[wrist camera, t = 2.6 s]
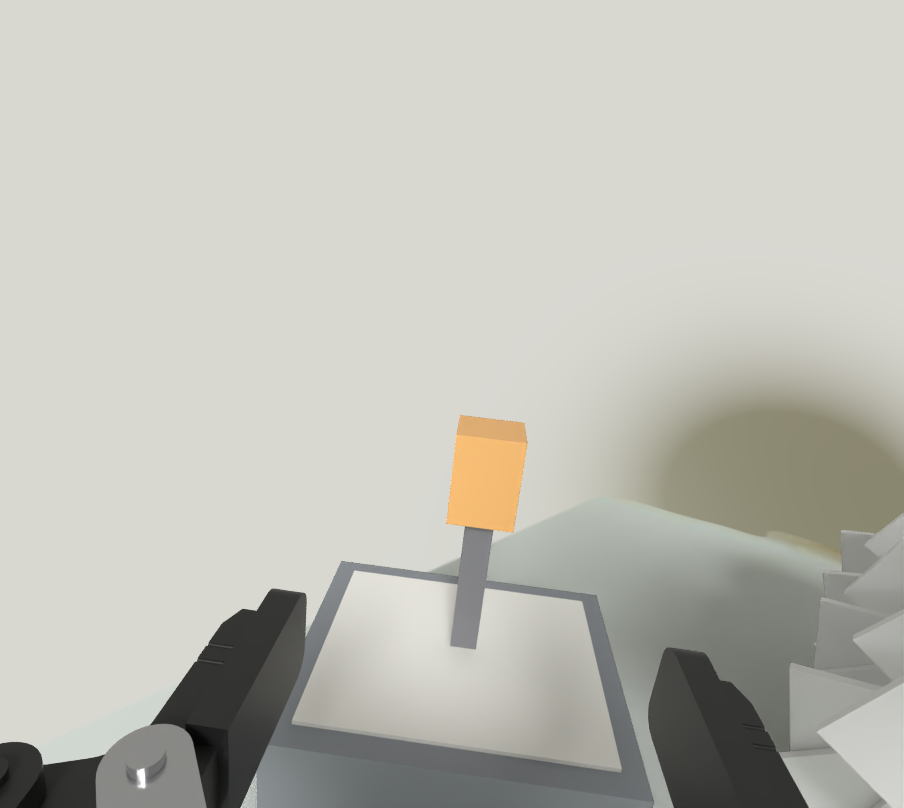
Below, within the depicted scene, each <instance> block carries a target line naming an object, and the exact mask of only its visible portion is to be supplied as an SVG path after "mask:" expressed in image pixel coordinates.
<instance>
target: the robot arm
mask: <svg viewBox="0 0 904 808" xmlns="http://www.w3.org/2000/svg"><path fill="white" fill-rule="evenodd" d="M306 603H307V602H306V594H305V593H300V592H293V591H287V590H280V589H271V590H270V591H269V592H268V594H267V595H266V597H265V599H264V600H263V602H262V603H261V605H260V606H259V608H258V610H257V611H254V610H247V609H242V610H240V611H239V612H238V613H236V614H235V615H233V616H232V617H231V618H229V619H228V620H226V621H225V622H223V623H222V624H221V626H220V627H219V629H218V630H217V631H216V633H215V634H214V636H213V637H212V639H211V640H210V641H209V644H208V646H206V647H205V649H204V650H203V651H202V653H201V654H200V656H199V657H198V660H197V662H195V663H194V664H193V665H192V667H191V668H190V670H189V671H188V673H187V674H186V675H185V677H184V678H183V680H182V681H181V683H180V684H179V685H178V687H177V688H176V690H175V691H174V692H173V694H172V695H171V697H170V698H169V700H168V701H167V702H166V704H165V705H164V707H163V708H162V709H161V711H160V712H159V714H158V715H157V717H156V718H155V719H154V721H153V722H152V723H151V725H150V726H146V727H143V728H140V729H138V730H136V731H133V732H132V733H130V734H128V735H126V736H125V737H123V738H122V739H120V740H119V741H118V742H117V743H116V744H114V745H113V746H112V747H111V748H110V749H109V750H108V752H107V753H106V754H105V755H102V756H98V757H94V758H88V759H82V760H75V761H68V762H61V763H54V764H48V765H43V762H42V757H41V754H40V752H39V751H38V749H37V748H35V747H34V746H32V745H30V744H27V743H22V742H8V743H2V744H0V808H240V807H241V805H242V803H243V800H244V798H245V796H246V794H247V791H248V789H249V787H250V785H251V782H252V780H253V778H254V776H255V773H256V771H257V769H258V767H259V764H260V762H261V760H262V758H263V755H264V753H265V751H266V749H267V746H268V744H269V742H270V740H271V737H272V735H273V733H274V731H275V728H276V726H277V724H278V722H279V719H280V717H281V715H282V713H283V710H284V708H285V706H286V704H287V701H288V699H289V697H290V695H291V692H292V690H293V688H294V686H295V683H296V681H297V679H298V676H299V673H300V670H301V666H302V662H303V657H304V650H305V628H306ZM648 720H649V729H650V733H651V737H652V740H653V743H654V746H655V750H656V753H657V756H658V759H659V762H660V765H661V769H662V772H663V775H664V778H665V781H666V784H667V787H668V791H669V794H670V797H671V800H672V803H673V806H674V808H809V807H808V805H807V803H806V801H805V799H804V798H803V796H802V794H801V792H800V790H799V789H798V787H797V785H796V783H795V781H794V779H793V778H792V776H791V774H790V772H789V770H788V769H787V767H786V765H785V763H784V761H783V760H782V758H781V756H780V754H779V752H776V750H775V745H774V743H773V742H772V740H771V738H770V736H769V734H768V733H767V732H765V730H764V725H763V723H762V722H761V720H760V718H759V716H758V714H757V713H756V711H755V709H754V707H753V705H752V704H751V703H750V702H749V701H748V700H747V699H746V697H745V696H744V695H743V694H742V693H741V692H740V691H739V690H738V689H737V688H736V687H735V686H734V685H733V684H732V683H731V682H726V681H720V680H719V678H718V676H717V674H716V672H715V670H714V668H713V666H712V664H711V662H710V660H709V658H708V657H707V655H706V654H705V653H703V652H697V651H690V650H683V649H676V648H670V647H669V648H666V650H665V651H664V653H663V656H662V659H661V663H660V666H659V670H658V674H657V677H656V681H655V684H654V688H653V691H652V695H651V698H650V702H649V710H648Z"/></svg>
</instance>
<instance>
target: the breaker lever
mask: <svg viewBox="0 0 904 808" xmlns="http://www.w3.org/2000/svg"><path fill="white" fill-rule="evenodd" d="M526 449H527V437H526V431H525V424H524V423H520V422H513V421H504V420H496V419H488V418H480V417H472V416H463V415H460V419H459V424H458V430H457V435H456V444H455V453H454V461H453V470H452V480H451V488H450V497H449V505H448V515H447V524H452V525H460V526H465V530H464V538H463V547H462V554H461V562H460V570H459V578H458V586H457V594H456V602H455V610H454V618H453V626H452V634H451V644H450V646H454V647H461V648H468V649H475V650H476V645H477V639H478V632H479V625H480V618H481V611H482V604H483V597H484V590H485V583H486V576H487V569H488V562H489V555H490V548H491V541H492V535H493V530H498V531H506V532H514V525H515V519H516V513H517V506H518V500H519V494H520V487H521V481H522V475H523V468H524V462H525V455H526Z"/></svg>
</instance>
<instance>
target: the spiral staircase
mask: <svg viewBox="0 0 904 808" xmlns="http://www.w3.org/2000/svg"><path fill="white" fill-rule="evenodd" d="M841 554H842V572H838V571H827V570H823V580H824V588H825V596H826V598H825V597H821V600H820V609H819V619H818V629H817V639H816V642H814V647H815V648H816V649H815V660H814V668H810V667H806V666H803V665H799V664H795V663H792V662H791V664H790V667H789V688H790V751H788V752H779V754H780V756H781V758H782V760H783V761H784V763H785V765H786V767H787V769H788V770H789V772H790V774H791V776H792V778H793V779H794V781H795V783H796V785H797V787H798V789H799V790H800V792H801V794H802V796H803V798H804V799H805V801H806V803H807V805H808V807H809V808H904V513H902V514H901V515H900V516H899V517H898V518H896V519H895V520H894V521H892V522H891V523H890V524H889V525H887V526H886V527H885V528H884V529H882V530H881V531H880V532H878V533H877V534H875V533H866V532H856V531H848V530H841Z"/></svg>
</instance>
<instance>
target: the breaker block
mask: <svg viewBox="0 0 904 808" xmlns="http://www.w3.org/2000/svg"><path fill="white" fill-rule="evenodd" d="M458 578H459V577H456V576H449V575H442V574H434V573H427V572H419V571H411V570H405V569H396V568H389V567H382V566H375V565H367V564H360V563H353V562H345V561H341V563H340V566H339V568H338V570H337V572H336V574H335V576H334V578H333V581H332V583H331V585H330V587H329V589H328V591H327V593H326V596H325V598H324V600H323V602H322V604H321V607H320V608H319V611H318V613H317V615H316V617H315V619H314V621H313V623H312V626H311V628H310V630H309V632H308V634H307V636H306V638H305V650H304V657H303V662H302V666H301V670H300V673H299V676H298V679H297V681H296V683H295V686H294V688H293V690H292V692H291V695H290V697H289V699H288V701H287V704H286V706H285V708H284V710H283V713H282V715H281V717H280V719H279V722H278V724H277V726H276V728H275V731H274V733H273V735H272V737H271V740H270V742H269V744H268V746H267V749H266V751H265V753H264V755H263V758H262V760H261V762H260V764H259V767H258V769H257V808H653V805H654V800H653V797H652V793H651V790H650V786H649V783H648V779H647V775H646V772H645V768H644V765H643V761H642V757H641V754H640V750H639V747H638V743H637V740H636V736H635V732H634V729H633V725H632V722H631V718H630V715H629V711H628V707H627V704H626V700H625V697H624V693H623V689H622V686H621V682H620V679H619V675H618V672H617V668H616V664H615V661H614V657H613V654H612V650H611V647H610V643H609V639H608V636H607V632H606V629H605V625H604V621H603V618H602V614H601V611H600V607H599V604H598V600H597V596H596V595H590V594H583V593H575V592H568V591H560V590H553V589H545V588H538V587H531V586H523V585H516V584H508V583H501V582H494V581H486V583H485V590H484V597H483V604H482V611H481V618H480V625H479V632H478V639H477V645H476V650H475V649H468V648H461V647H454V646H450V644H451V634H452V626H453V618H454V610H455V602H456V594H457V586H458Z"/></svg>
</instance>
